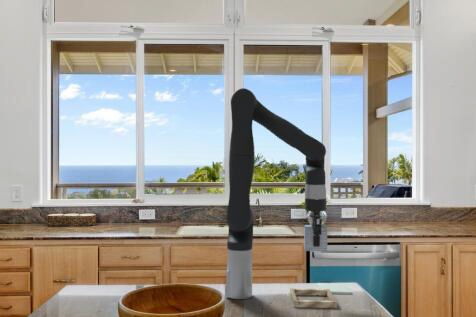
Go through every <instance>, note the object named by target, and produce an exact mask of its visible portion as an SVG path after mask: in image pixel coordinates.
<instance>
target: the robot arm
mask: <svg viewBox="0 0 476 317" xmlns="http://www.w3.org/2000/svg"><path fill="white" fill-rule="evenodd" d="M230 110H231V133H230V144H229V152H228V153H229V154H228V155H229V157H228V180H229V181H228V182H229V184H228V186H229V195H228V196H229V197H228V204H227V210H226V217H225V218H226V223H227V225H228V232H227V233H228V235H227V244H226V246H227V247H226V256H227V257H226V286H225V287H226V288H225V289H226V293H225V294H226V295H225V296H226V298H227V299H228V298H229V299H233V300H246V299H250V298H252V296H253V242H254V213H253V211H252V209H251V203H250V200H251V199H250V198H251V196H250V195H251V186H252V182H253V179H254V178H253V176H254V171H255V141H254V135H253V122H256V123H257V124H259V125H261V126H263V127H264V128H265V129H266V130H268V131H269V132H270V133H271V134H273V135H274V136H275V137H276V138H278V139H279V140H280V141H283V142H284V143H285V144H287V145H288V146H290V147H292V148H293V149H295V150H297V151H299V152H300V153H301V154H302V155H304V156H305V187H304V188H305V190H304V210H305V211H307V212H311V213H310V214H309V218H308V220H309V225H311V228H312V229H313V246H314V247H319V246H320V235H321V228H322V227H321V226H322V225H323V224H322V223H323V216H322V215H321V212H326V211H327V188H326V187H327V186H326V171H325V170H326V169H325V156H326V153H327V149H326V146H325V145H324V143H323V142H321V141H320V140H318V139H316V138H314V137H312V136H311V135H309V134H307V133H306V132H304V131H303V130H302V129H301V128H299V127H297V125H295V124H293V123H292V122H290V121H289V120H288V119H285V118H284V117H281V116H279V115H278V114H276V113H274V112H273V111H271V110H270V109H268V108H267V107H266V106H264V105H263V104H262V103H261V102H260V101H259V100H258V99H257V97H256V96H255V94H254V92H252V91H251V90H250V89H248V88H244V87H243V88H242V87H241V88H239V89H236V91H234V93H233V94H232V96H231V98H230ZM316 229H318V230H319V231H316Z"/></svg>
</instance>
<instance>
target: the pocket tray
mask: <svg viewBox="0 0 476 317" xmlns="http://www.w3.org/2000/svg"><path fill="white" fill-rule="evenodd" d="M289 293H290V298H291V301H292V305H293V308H307V309H308V308H311V309H312V308H313V309H316V308H317V309H338V301H337V299H336V298H335V296H334V294H332V293H331V291H330V289H319V288H290V292H289ZM316 295H319V297H320V296H321V297H323V296H324V297H325V296H326V297H327V298H328V300H315V299H314V300H312V299H311V300H309V299H308V300H307V299H306V300H305V299H304V300H303V299H298V298H297V296H316Z"/></svg>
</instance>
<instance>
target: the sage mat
mask: <svg viewBox="0 0 476 317" xmlns="http://www.w3.org/2000/svg"><path fill="white" fill-rule="evenodd" d="M316 284H317V288H318V287H319V288H318V289H330V291H331V293H332V294H333V295H352V291H351V289H350V288H349V287H348V286H347V284H346V283H333V282H331V283H329V282H317V283H316Z"/></svg>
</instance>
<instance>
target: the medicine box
mask: <svg viewBox="0 0 476 317" xmlns="http://www.w3.org/2000/svg"><path fill="white" fill-rule="evenodd" d="M321 227H322V228H321V235H320V246H319V247H314V246H313V229H312V228H311V225H310V224H304V226H303V229H304V230H303V237H304V238H303V239H304V240H303V241H304V242H303V244H304V246H303V248H304V251H306V252H328V227H327V225H325V224H322V226H321ZM316 231H319V230H318V229H316Z"/></svg>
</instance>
